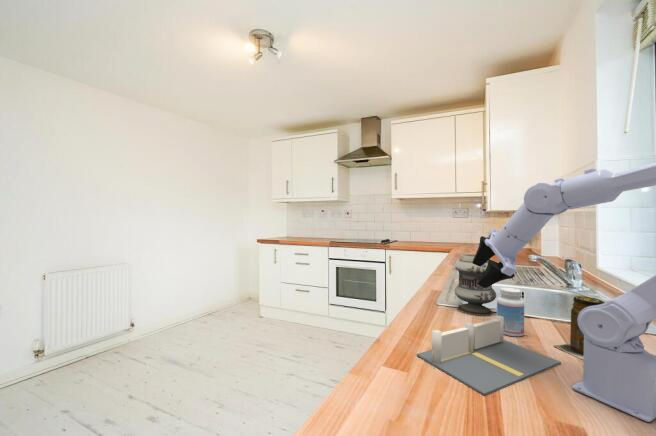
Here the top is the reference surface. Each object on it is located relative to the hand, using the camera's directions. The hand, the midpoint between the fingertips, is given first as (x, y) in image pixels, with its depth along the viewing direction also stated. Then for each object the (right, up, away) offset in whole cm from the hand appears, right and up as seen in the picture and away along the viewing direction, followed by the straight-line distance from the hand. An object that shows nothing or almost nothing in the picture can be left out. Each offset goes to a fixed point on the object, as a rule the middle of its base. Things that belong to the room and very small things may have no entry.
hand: (478, 274), depth 70 cm
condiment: (+21, -17, -5) cm, 27 cm away
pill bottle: (+11, -16, +5) cm, 20 cm away
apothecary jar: (+11, -16, +23) cm, 30 cm away
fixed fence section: (-10, -16, -9) cm, 20 cm away
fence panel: (0, -15, -4) cm, 16 cm away
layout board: (-3, -16, -9) cm, 19 cm away
